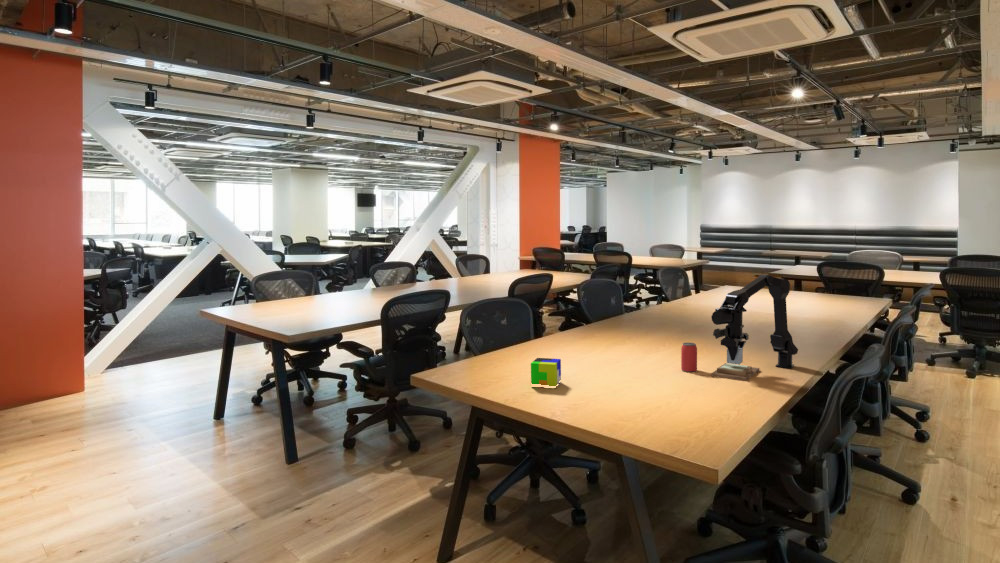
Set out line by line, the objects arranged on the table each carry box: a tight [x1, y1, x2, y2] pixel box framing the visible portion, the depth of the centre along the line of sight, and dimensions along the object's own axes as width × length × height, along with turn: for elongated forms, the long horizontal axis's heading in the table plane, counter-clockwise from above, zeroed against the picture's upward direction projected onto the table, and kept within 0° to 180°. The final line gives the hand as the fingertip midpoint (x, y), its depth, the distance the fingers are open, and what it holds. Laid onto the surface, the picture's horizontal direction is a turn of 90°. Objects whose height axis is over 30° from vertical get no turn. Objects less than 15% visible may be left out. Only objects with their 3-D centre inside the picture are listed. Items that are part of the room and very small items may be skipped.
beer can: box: [680, 342, 698, 373], centre depth 250 cm, size 7×7×12 cm
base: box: [710, 362, 760, 382], centre depth 243 cm, size 20×14×3 cm
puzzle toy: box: [530, 357, 562, 386], centre depth 233 cm, size 10×10×10 cm
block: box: [726, 347, 744, 365], centre depth 241 cm, size 5×5×6 cm
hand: (734, 359), depth 241 cm, fingers closed on block, 5 cm apart
